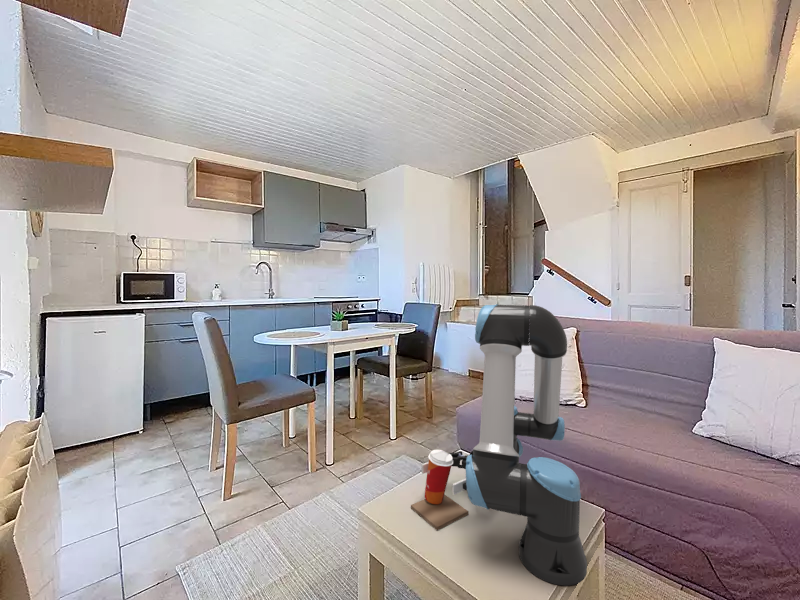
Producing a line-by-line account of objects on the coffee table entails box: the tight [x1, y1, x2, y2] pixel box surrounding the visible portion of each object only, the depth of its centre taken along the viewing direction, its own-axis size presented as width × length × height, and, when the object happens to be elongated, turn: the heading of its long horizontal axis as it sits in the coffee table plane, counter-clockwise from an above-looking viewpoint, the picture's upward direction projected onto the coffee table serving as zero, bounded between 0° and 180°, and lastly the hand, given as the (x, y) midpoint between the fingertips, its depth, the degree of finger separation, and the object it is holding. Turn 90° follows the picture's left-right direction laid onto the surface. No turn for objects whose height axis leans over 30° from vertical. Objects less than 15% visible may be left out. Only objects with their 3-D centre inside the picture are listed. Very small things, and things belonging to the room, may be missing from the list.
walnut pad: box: [410, 493, 469, 531], centre depth 106 cm, size 12×12×1 cm
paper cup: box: [424, 449, 453, 504], centre depth 110 cm, size 8×8×14 cm
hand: (436, 478), depth 106 cm, fingers open, 13 cm apart
